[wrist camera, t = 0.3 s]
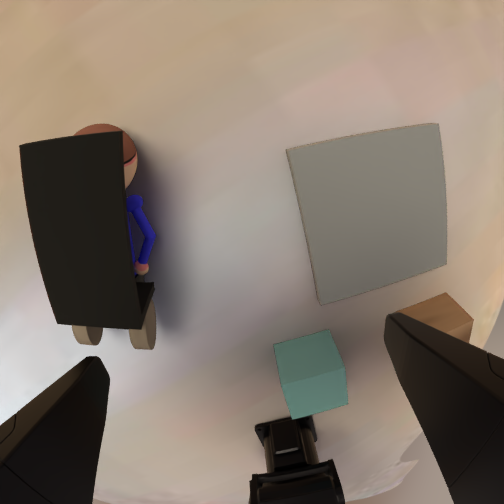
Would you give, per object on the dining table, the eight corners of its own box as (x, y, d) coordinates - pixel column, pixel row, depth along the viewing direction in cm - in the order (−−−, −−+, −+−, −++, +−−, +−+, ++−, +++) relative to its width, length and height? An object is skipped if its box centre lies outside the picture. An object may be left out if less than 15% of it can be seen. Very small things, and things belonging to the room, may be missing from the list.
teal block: (333, 366, 28) (348, 404, 23) (284, 380, 28) (292, 419, 24) (328, 328, 26) (345, 367, 21) (273, 343, 26) (281, 385, 22)
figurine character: (173, 302, 26) (157, 115, 18) (158, 372, 19) (116, 130, 12) (101, 299, 25) (69, 126, 18) (72, 363, 19) (4, 149, 11)
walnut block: (440, 336, 28) (463, 365, 23) (393, 356, 28) (413, 389, 24) (445, 291, 26) (473, 319, 21) (394, 311, 26) (419, 344, 21)
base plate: (440, 259, 24) (446, 264, 23) (317, 299, 25) (320, 305, 24) (431, 123, 19) (438, 123, 18) (285, 149, 20) (288, 150, 19)
